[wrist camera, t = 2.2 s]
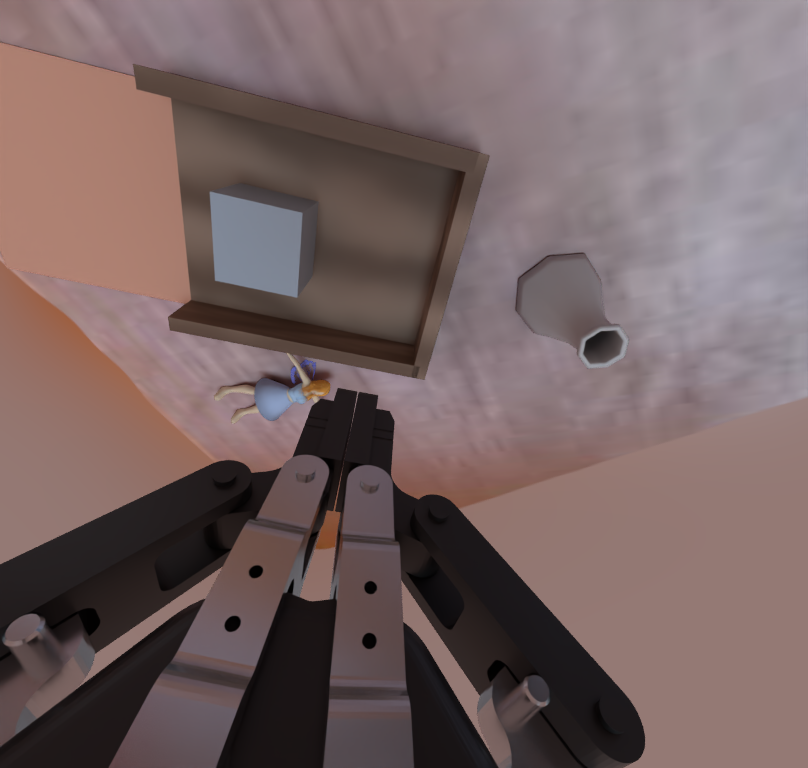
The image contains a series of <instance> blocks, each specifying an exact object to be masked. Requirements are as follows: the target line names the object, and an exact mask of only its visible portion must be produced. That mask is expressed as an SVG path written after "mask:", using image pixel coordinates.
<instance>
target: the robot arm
mask: <svg viewBox="0 0 808 768" xmlns="http://www.w3.org/2000/svg"><path fill="white" fill-rule="evenodd" d="M356 397H357V391H351V390H346V389H341V388H338V389H337V392H336V396H335V399H334V401H330V400H325V399H320V400H319V401H318V402H316V403H315V404H314V405H313V406H312V407H311V410H310V412H309V415H308V418H307V420H306V423H305V426H304V428H303V431H302V434H301V436H300V439H299V442H298V444H297V447H296V450H295V452H294V455H293V457H292V458H290V459H289V460H288V461H286V462H285V463H284V465H283V466H282V467H281V468H279V469H276V470H273V471H267V472H257V473H251V471H250V469H249V468H248V467H247V466H246V465H245V464H243V463H241V462H238V461H233V460H224V461H219V462H216V463H213V464H211V465H209V466H206V467H205V468H202V469H200V470H198V471H196V472H194V473H192V474H190V475H188V476H186V477H184V478H182V479H179V480H177V481H175V482H173V483H171V484H169V485H166V486H165V487H162V488H160V489H158V490H156V491H154V492H152V493H150V494H148V495H145V496H143V497H141V498H139V499H137V500H135V501H133V502H131V503H129V504H126V505H124V506H122V507H120V508H118V509H116V510H114V511H112V512H110V513H108V514H106V515H103V516H101V517H99V518H97V519H95V520H93V521H91V522H89V523H86V524H84V525H82V526H81V527H78V528H76V529H74V530H72V531H70V532H68V533H65V534H63V535H61V536H59V537H57V538H55V539H53V540H51V541H49V542H46V543H44V544H42V545H40V546H38V547H36V548H34V549H32V550H30V551H27V552H25V553H23V554H21V555H19V556H17V557H15V558H13V559H11V560H9V561H7V562H4V563H2V564H0V768H623V767H625V766H627V765H629V764H631V763H633V762H635V761H637V760H638V759H639V758H640V757H641V755H642V754H643V751H644V747H645V734H644V729H643V726H642V723H641V720H640V717H639V715H638V713H637V711H636V709H635V707H634V706H633V704H632V703H631V701H630V700H629V698H628V697H627V696H626V695H625V694H624V693H623V691H622V690H621V689H620V688H619V687H618V686H617V685H616V684H615V682H613V680H612V679H611V678H610V677H609V676H608V675H607V674H606V672H605V671H604V670H603V669H602V668H601V667H600V666H599V665H598V664H597V662H596V661H595V660H594V659H593V658H592V657H591V656H590V655H589V654H588V652H587V651H586V650H585V649H584V648H583V647H582V646H581V645H580V644H579V643H578V641H577V640H576V639H575V638H574V637H573V636H572V635H571V634H570V633H569V631H568V630H567V629H566V628H565V627H564V626H563V625H562V624H561V622H560V621H559V620H558V619H557V618H556V617H555V616H554V615H553V613H552V612H551V611H550V610H549V609H548V608H547V607H546V606H545V605H544V604H543V602H542V601H541V600H540V599H539V598H538V597H537V596H536V595H535V593H534V592H533V591H532V590H531V589H530V588H529V587H528V586H527V585H526V583H524V581H523V580H522V579H521V578H520V577H519V576H518V575H517V573H515V571H514V570H513V569H512V568H511V567H510V566H509V565H508V563H507V562H506V561H505V560H504V559H503V558H502V557H501V556H500V555H499V553H498V552H497V551H496V550H495V549H494V548H493V547H492V546H491V545H490V543H489V542H488V541H487V540H486V539H485V538H484V537H483V536H482V535H481V533H480V532H479V531H478V530H477V529H476V528H475V527H474V526H473V525H472V524H471V522H470V521H469V520H468V519H467V518H466V517H465V516H464V515H463V513H462V512H461V511H460V510H459V509H458V508H457V507H456V506H455V505H454V504H453V503H452V502H451V501H450V500H449V499H447V498H445V497H442V496H439V495H426V496H423V497H422V498H420V499H419V500H418V499H416V498H414V497H412V496H410V495H408V494H406V493H404V492H402V491H401V490H400V489H399V488H398V487H397V486H396V485H395V483H394V482H393V480H392V477H391V464H392V450H393V435H394V419H393V417H392V415H391V413H390V411H385V410H380V409H376V407H377V400H378V395H373V394H368V393H362V392H359V394H358V399H357V403H356V408H355V402H356ZM354 408H355V413H354ZM353 414H354V417H353ZM352 419H353V422H352ZM351 425H352V427H351ZM350 430H351V431H350ZM349 435H350V436H349ZM346 449H347V450H346ZM344 458H345V459H344ZM343 463H344V464H343ZM342 468H343V470H342ZM341 472H342V476H341ZM340 477H341V481H340ZM339 482H340V487H339V493H338V498H337V504H336V510H335V511H336V512H341V514H340V520H339V525H338V530H337V536H336V545H335V555H334V564H333V573H332V582H331V591H330V599H329V600H322V601H313V602H312V601H307V600H305V599H302V598H300V594H301V590H302V586H303V583H304V580H305V577H306V574H307V571H308V568H309V565H310V561H311V559H312V556H313V553H314V550H315V547H316V543H317V540H318V537H319V534H320V530H321V527H322V525H323V523H324V519H325V515H326V511H327V510H329V511H333V509H334V505H335V500H336V495H337V491H338V486H339ZM222 566H223V567H222ZM221 567H222V569H221V571H220V573H219V574H218V576H217V578H216V580H215V582H214V584H213V586H212V587H211V590H210V591H209V593H208V595H207V597H206V599H203V600H200V601H198V602H196V603H194V604H192V605H190V606H188V607H187V608H185V609H183V610H182V611H180V612H178V613H177V614H176V615H174V616H173V617H171V618H170V619H169V620H167V621H166V622H165V623H163V624H162V625H161V626H159V627H158V628H157V629H155V630H154V631H153V632H152V633H150V634H149V635H148V636H146V637H145V638H144V639H142V640H141V641H140V642H138V643H137V644H136V645H134V646H133V647H132V648H130V649H129V650H128V651H126V652H125V653H124V654H122V655H121V656H120V657H118V658H117V659H116V660H115V661H113V662H112V663H111V664H109V665H108V666H107V667H105V668H104V669H102V670H101V671H100V672H99V673H97V674H96V675H95V676H93V677H92V678H91V679H89V680H88V681H87V682H85V683H84V684H83V685H81V686H80V687H79V688H77V687H78V686H79V685H80V684H81V683H82V682H83V680H84V679H85V678H86V676H87V675H88V673H89V671H90V669H91V667H92V664H93V661H94V657H95V653H97V652H98V651H100V650H101V649H103V648H104V647H106V646H107V645H109V644H110V643H112V642H113V641H114V640H116V639H117V638H119V637H120V636H122V635H123V634H125V633H126V632H128V631H129V630H130V629H132V628H133V627H135V626H136V625H138V624H139V623H141V622H142V621H144V620H145V619H146V618H148V617H149V616H151V615H152V614H154V613H155V612H157V611H158V610H160V609H161V608H162V607H164V606H165V605H167V604H168V603H170V602H171V601H173V600H174V599H176V598H177V597H178V596H180V595H182V594H183V593H184V592H186V591H187V590H189V589H190V588H192V587H193V586H195V585H196V584H198V583H199V582H201V581H202V580H203V579H205V578H206V577H208V576H209V575H211V574H212V573H214V572H215V571H216V570H218V569H219V568H221ZM401 580H402V582H403V583H404V584H405V586H406V587H407V589H408V590H409V592H410V593H411V595H412V596H413V598H414V599H415V600H416V602H417V603H418V605H419V607H420V608H421V610H422V611H423V612H424V614H425V615H426V617H427V618H428V620H429V621H430V623H431V624H432V626H433V627H434V629H435V630H436V632H437V633H438V635H439V636H440V638H441V639H442V641H443V642H444V644H445V645H446V646H447V648H448V649H449V651H450V652H451V654H452V655H453V657H454V658H455V660H456V661H457V663H458V664H459V666H460V667H461V669H462V670H463V671H464V673H465V675H466V676H467V678H468V679H469V680H470V682H471V683H472V685H473V686H474V688H475V689H476V691H477V692H478V694H479V695H480V698H479V701H478V706H477V716H478V722H479V726H480V729H481V732H482V734H483V736H484V738H485V740H486V742H487V744H488V746H489V749H490V751H491V754H490V752H489V750H488V749H487V747H486V745H485V744H484V742H483V740H482V739H481V737H480V735H479V734H478V732H477V730H476V729H475V727H474V725H473V724H472V722H471V720H470V719H469V717H468V715H467V714H466V712H465V710H464V709H463V707H462V705H461V704H460V702H459V701H458V699H457V697H456V695H455V694H454V692H453V690H452V689H451V687H450V685H449V684H448V682H447V680H446V679H445V677H444V675H443V674H442V672H441V670H440V669H439V667H438V665H437V664H436V662H435V661H434V659H433V657H432V655H431V654H430V652H429V650H428V649H427V647H426V646H425V644H424V643H423V641H422V640H421V639H420V637H419V636H418V635H417V634H416V633H415V632H414V631H413V630H412V629H411V628H410V627H409V626H408V625H407V624H405V623H404V622H403V609H402V608H403V607H402V585H401ZM76 688H77V689H76ZM75 689H76V690H75ZM74 690H75V691H74Z"/></svg>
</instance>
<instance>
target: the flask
mask: <svg viewBox="0 0 808 768" xmlns="http://www.w3.org/2000/svg"><path fill="white" fill-rule="evenodd" d="M516 311H517V312H518V314H519V315H520V316H521V318H522V319H523V320H524V322H525V323H526V324H527V325H528V327H529V328H530V329H531V331H532V332H533V333H536V334H539V335H543V336H547V337H551V338H554V339H557V340H560V341H563V342H566V343H569V344H570V345H572V346H573V347H574V348H576V349H577V355H578V357H579V358H580V359H581V361H582V362H583V363H584V365H585V366H586V368H587V369H589V368H607V367H608V366H610V365H612V364H613V363H615V362H617V361H619V360H620V359H622V358H624V357H625V354H626V350H627V346H628V343H629V339H628V337H627V335H626V334H625V332H624V331H623V329H622V327H621V326H620V325H619V324H611V323H610V322H609V321H608V320H607V318H606V317H605V312H604V305H603V299H602V285H601V279H600V278H599V276H598V274H597V273H596V271H595V269H594V268H593V266H592V265H591V263H590V261H589V260H588V258H587V257H586V255H585V254H572V255H559V256H549V257H547V258H546V259H545V260H543V261H542V262H541V263H539V264H538V265H537V266H535V267H534V268H533V269H531V270H530V271H529V272H527V273H526V274H525V275H523V276H522V277H521V278H519V282H518V294H517V306H516Z"/></svg>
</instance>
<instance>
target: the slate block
mask: <svg viewBox="0 0 808 768" xmlns="http://www.w3.org/2000/svg"><path fill="white" fill-rule="evenodd" d="M210 205H211V221H212V237H213V254H214V270H215V281H220V282H225V283H230V284H234V285H239V286H244V287H249V288H253V289H258V290H263V291H268V292H272V293H277V294H282V295H287V296H292V297H296V298H297V297H298V296H299V295H300V293H301V292H302V290H303V289H304V288H305V286H306V285H307V283H308V282H309V281H310V279H311V278H312V275H313V263H314V251H315V239H316V227H317V215H318V201H314V200H310V199H305V198H301V197H297V196H293V195H288V194H284V193H280V192H276V191H271V190H267V189H263V188H259V187H254V186H250V185H246V184H242V183H238V184H234V185H231V186H227V187H224V188H220V189H217V190H213V191H210Z"/></svg>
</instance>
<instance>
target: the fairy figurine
mask: <svg viewBox="0 0 808 768" xmlns="http://www.w3.org/2000/svg"><path fill="white" fill-rule="evenodd" d="M286 354H287V355H288V356H289V358H290V359H291V361H292V362H293V364H294V365H295V367H293V368H292V369H293V370H292V369H291V373H292V374H293V375H292V374H291V379H292V380H293V381H294V379H295V378H294V374H295V373H294V371H296V369H297V370H298V372H299V376H300V377H301V379H302V380H301V379H300V380H301V381H302V383H300V384H298V385H296V384H295V385H296V386H295V387H293V388H289V387H288V386H286V385H283V384H281V383H278V382H276V381H273V380H270V379H268V378H262V379H260V380H259V381H258V382H257V384H256V387H253V386H250V385H239V386H233V387H229V386H225V387H221V388H220V390H219V391H218V392H217V393H216V394H215V395H214V399H215V400H217V401H219V400H220V399H222V398H223V397H224V396H225V395H227V394H229V393H230V392H239V393H246V394H253V395H254V396H255V402H256V405H255V406H252V407H249V408H244V409H238V410H237V411H236V412H235V414H234V415H233V416H232V418H231V423H234V424H235V423H236V422H237V421H238V420H239V419H240V418H241V417H243V416H244V415H246V414H249V413H259V412H260V413H261V415H262V416H263V417H264V418H266V419H267V420H270V421H274V420H276V419H278V418H279V417H280V416H281V415H282V414H283V413H284V412H285V411H286V410H287V409H288V408H289V407H290V406H291V405H292V404H293V403H294V402H298V403H300V404H304V403H305V402H306V401H307V400H310V399H311V398H312V399H313V401H314V402H315V403H316V402H318V401H319V400H320V399H319V397H320V396H325V395H327V394H328V393H329V391H330V383H329V382H328V381H325V380H322V379H320V380H317V381H311V380H310V379H309V378H308V376H307V375H306V373H305V372H304V371H303V367H306V365H308V366H309V363H313V361H309V362H308V360H305V361H303V362H302V363H301V364H299V362H298V361H297V360H296V359H295V357H294V356H293V355H292V354H289V353H286ZM305 362H306V364H305ZM315 363H316V362H315ZM315 363H313V364H312V366H313V368H314V366H315V368H316V365H315ZM302 364H303V366H302ZM304 364H305V365H304ZM309 368H310V367H309ZM310 371H311V369H310ZM307 372H308V371H307ZM314 373H315V370H314ZM297 374H298V373H297ZM308 374H310V373H308ZM295 375H296V374H295ZM292 376H293V377H292ZM313 377H314V374H313ZM296 380H297V379H296ZM312 380H313V378H312ZM293 381H292V382H293ZM294 382H295V381H294ZM294 382H293V383H294ZM296 383H297V382H296ZM318 395H319V397H318Z"/></svg>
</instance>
